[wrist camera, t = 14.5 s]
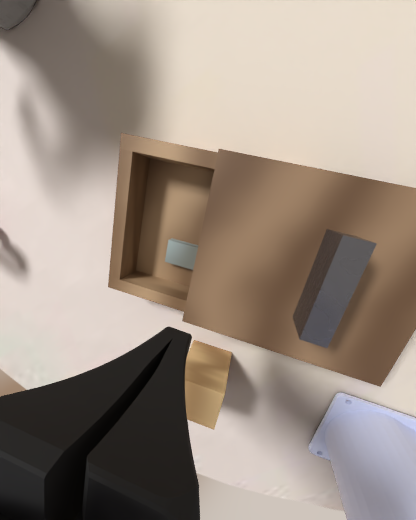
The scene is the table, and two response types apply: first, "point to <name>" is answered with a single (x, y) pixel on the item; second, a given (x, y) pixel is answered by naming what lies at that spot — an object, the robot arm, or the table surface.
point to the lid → (307, 264)
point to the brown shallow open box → (158, 218)
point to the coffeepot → (14, 12)
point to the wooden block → (205, 382)
